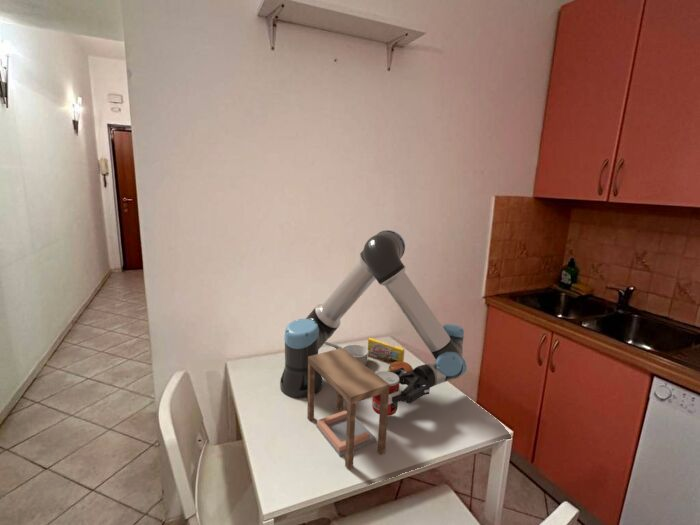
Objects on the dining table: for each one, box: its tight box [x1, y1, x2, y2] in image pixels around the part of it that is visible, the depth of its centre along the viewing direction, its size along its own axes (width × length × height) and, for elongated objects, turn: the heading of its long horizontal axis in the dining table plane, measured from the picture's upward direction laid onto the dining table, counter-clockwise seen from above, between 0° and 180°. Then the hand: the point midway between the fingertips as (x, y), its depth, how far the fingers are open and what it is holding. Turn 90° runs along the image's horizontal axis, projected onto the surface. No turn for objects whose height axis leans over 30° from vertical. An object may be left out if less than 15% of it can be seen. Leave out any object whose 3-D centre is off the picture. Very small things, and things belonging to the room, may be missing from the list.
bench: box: [306, 348, 389, 470], centre depth 105 cm, size 12×24×21 cm, turn 32°
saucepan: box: [323, 341, 369, 366], centre depth 151 cm, size 12×20×6 cm, turn 61°
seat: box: [315, 409, 377, 457], centre depth 107 cm, size 12×14×2 cm
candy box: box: [367, 337, 405, 365], centre depth 150 cm, size 16×2×8 cm, turn 55°
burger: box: [387, 361, 414, 381], centre depth 140 cm, size 10×9×5 cm
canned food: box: [371, 370, 400, 417], centre depth 113 cm, size 8×8×11 cm
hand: (373, 394), depth 110 cm, fingers closed on canned food, 8 cm apart
